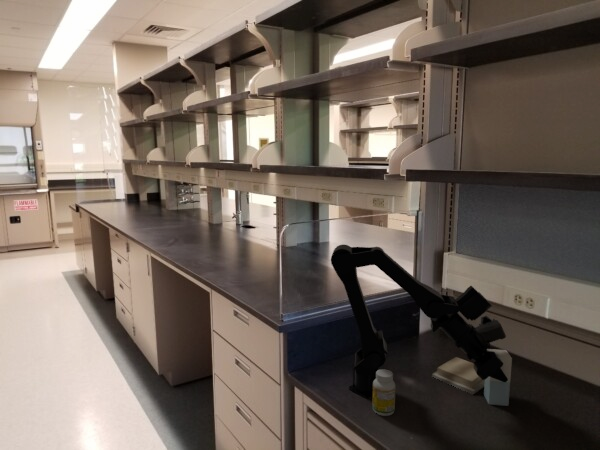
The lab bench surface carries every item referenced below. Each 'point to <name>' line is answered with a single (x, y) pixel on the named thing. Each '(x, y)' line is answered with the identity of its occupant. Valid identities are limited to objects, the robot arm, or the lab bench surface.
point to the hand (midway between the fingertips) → (503, 376)
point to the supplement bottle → (383, 393)
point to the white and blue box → (499, 382)
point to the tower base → (460, 375)
